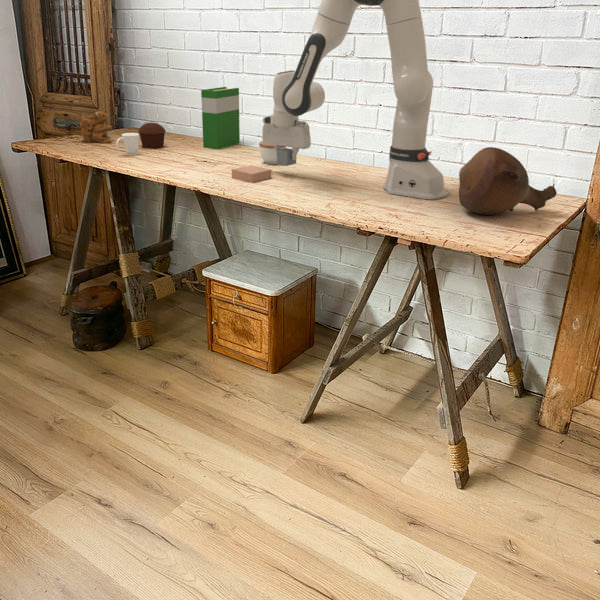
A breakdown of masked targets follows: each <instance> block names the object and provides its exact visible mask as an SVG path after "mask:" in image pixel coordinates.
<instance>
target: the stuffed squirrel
mask: <svg viewBox="0 0 600 600" xmlns="http://www.w3.org/2000/svg"><path fill="white" fill-rule="evenodd" d="M93 119H94V121H93V120H92V119H91V118H83V119H82V120H81V121H80V122H79V124H80V125H79V128H80V130H81V134H82V138H83V140H84V141H85V142H87V143H89V144H90V143H98V144H111V143H113V141H112V139H111V136H109V134H108V132H112V130H113V126H112V125H110V124H109V125H107V124H106V123H107V122H108V123H109V122H110V120H109V115H108V114H107V113H106V112H105V111H101V110H99V111H98V110H97V111H95V113H94V115H93Z"/></svg>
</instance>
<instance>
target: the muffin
mask: <svg viewBox="0 0 600 600" xmlns="http://www.w3.org/2000/svg"><path fill="white" fill-rule="evenodd" d="M137 132H138V134H139V139H140V143H141V147H142V148H143V147H144V148H143V149H147V148H153V149H156V148H157V149H161V148H164V144H165V133H166V132H167V131H166V129H165V128H164V127H163V126H162V125H161V124H159V123H157V122H145V123H144V124H142V125H141V126H140V127H139V129H138V131H137ZM157 149H156V150H157Z"/></svg>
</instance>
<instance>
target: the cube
mask: <svg viewBox="0 0 600 600" xmlns="http://www.w3.org/2000/svg"><path fill="white" fill-rule="evenodd" d="M292 154H293V150H292V148H290V147H286V148H284V149H279V150H277V164H276V165H281V166H287V167H288V166H292V165H296V164H297V159H296V160H291V159H290V158H291V157H290V155H292Z"/></svg>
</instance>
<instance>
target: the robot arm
mask: <svg viewBox="0 0 600 600" xmlns="http://www.w3.org/2000/svg"><path fill="white" fill-rule="evenodd" d="M360 6H367V7H373V6H374V7H376V6H379V7H380V9H382V11H383V16H384V21H385V27H386V32H387V39H388V44H389V45H388V46H389V50H390V61H391V74H392V75H391V76H392V82H393V91H394V95H395V98H396V99H397V100H396V106H395V108H396V109H395V114H394V118H393V126H392V127H393V128H392V136H391V138H392V139H391V146H390V147H389V157H388V159H389V165H388V171H387V174H386V178H385V182H384V184H383V187H382V188H383V189H384V190H385V191H387V194H389V195H397V196H404V197H410V198H418V199H422V200H438V199H443V198H446V197H447V196H450V194H451V190H450V189H449V188H445V178H444V175H443V173H442V172H441V171H440V170H439V169H438V168H437V167H436V166H435V165H434V164H433V163H432V162H431V161H430V160H429V159H430V156H432V153H433V151H428V150H427V147H426V143H427V132H428V123H429V115H430V111H431V110H430V109H431V104H432V97H433V88H434V79H433V76H432V73H430V70H429V68H428V59H427V44H426V43H427V42H426V37H425V30H424V29H425V28H424V25H423V24H424V23H423V17H422V16H423V15H422V11H421V10H422V9H421V5H420V2H419V0H321V2H320V5H319V8H318V10H317V14H316V17H315V21H314V23H313V26H312V29H311V31H310V34H309V37H308V40H307V41H306V44H305V46H304V49H303V50H302V51H303V52H302V53H301V56H300V58H299V61H298V64H297V66H296V69H295V70H287V71H286V70H285V71H280V72H278V73H276V74H275V76H274V79H273V87H272V98H273V102H274V104H273V105H274V106H273V114H270V115H267V116H264V117H262V123H263V124H262V125H263V126H262V131H261V132H262V134H261V135H262V141H263V142H264V143H265V144H272V145H274V149H275V151H276V153H277V150H279V149H280V147H281V146H285V147H286V148H291V149H292V150H293V154H292V155H290V157H291V158H290V159H291V160H296V161H297V156H298V153H299V151H300V149H301V150H307V149H310V147H311V145H312V143H311V141H312V140H311V132H310V125H309V123H307V122H306V121H304V120H303V121H301V120H299V116H302V115H305V114H306V113H309V112H312V111H315V110H317V109H319V108H321V106H323V104H324V102H325V99H326V95H325V89H324V88H323V86H322V85H321V84H320V83H319V82H316V81H314V79H315V77H316V74H317V71H318V69H319V66H320V64H321V62H322V61H323V59H324V58H325V57H326V56H327V55H328V54H329V53H331V52H332V51H333V50H334V49H336V48H338V47H339V46H340V45H341V44H342V43H343V42H344V40H345V38H346V36H347V34H348V31H349V29H350V25H351V22H352V19H353V17H354V14H355V13H356V12H355V11H356V10H357V9H358V8H359V7H360Z"/></svg>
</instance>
